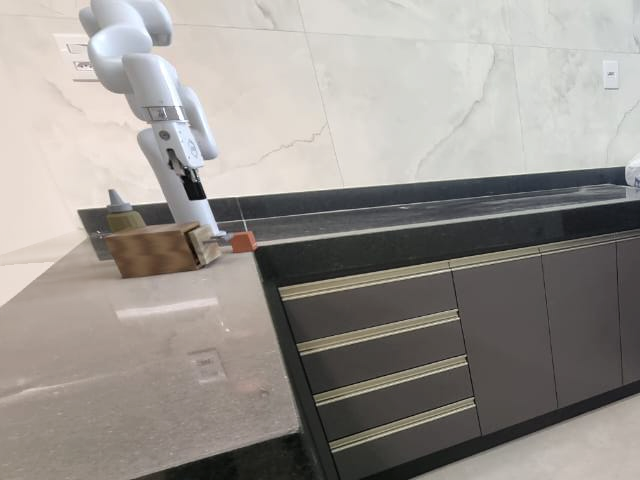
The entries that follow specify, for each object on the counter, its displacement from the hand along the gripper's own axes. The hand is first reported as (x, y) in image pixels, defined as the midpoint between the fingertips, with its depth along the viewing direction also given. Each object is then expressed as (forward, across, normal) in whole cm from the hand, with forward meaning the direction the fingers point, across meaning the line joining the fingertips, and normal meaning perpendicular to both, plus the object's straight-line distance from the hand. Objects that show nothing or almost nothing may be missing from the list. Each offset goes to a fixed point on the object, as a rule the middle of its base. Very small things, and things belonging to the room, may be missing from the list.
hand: (198, 199), depth 127 cm
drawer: (+14, 0, +6) cm, 16 cm away
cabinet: (+15, 0, +11) cm, 19 cm away
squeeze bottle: (+15, +15, +22) cm, 31 cm away
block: (+15, +13, -2) cm, 20 cm away
